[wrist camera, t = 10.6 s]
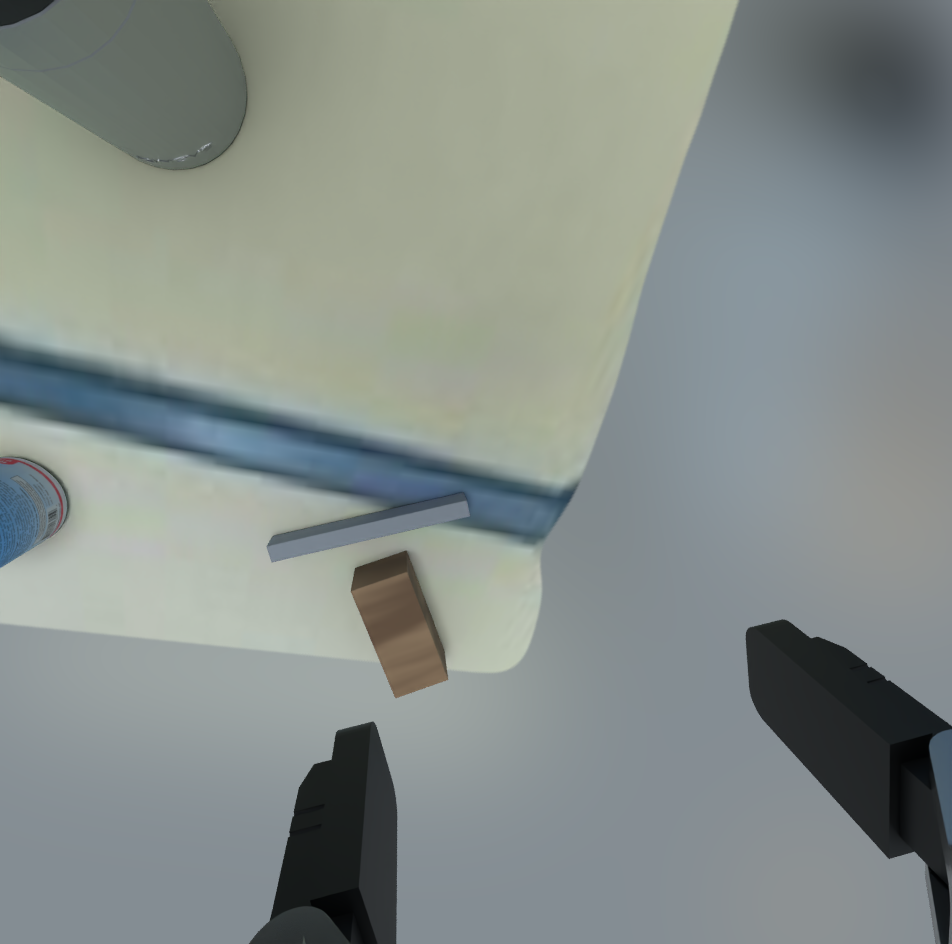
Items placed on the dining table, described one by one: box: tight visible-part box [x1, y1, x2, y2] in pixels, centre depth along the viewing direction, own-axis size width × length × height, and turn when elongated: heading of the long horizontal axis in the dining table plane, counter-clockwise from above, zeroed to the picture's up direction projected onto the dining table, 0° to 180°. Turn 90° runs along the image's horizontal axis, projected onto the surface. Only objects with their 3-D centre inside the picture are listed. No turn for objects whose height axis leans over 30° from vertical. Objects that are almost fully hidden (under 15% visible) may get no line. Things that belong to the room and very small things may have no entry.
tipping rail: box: [267, 492, 470, 562], centre depth 41 cm, size 1×14×2 cm, turn 102°
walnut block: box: [351, 551, 448, 698], centre depth 42 cm, size 4×4×9 cm
